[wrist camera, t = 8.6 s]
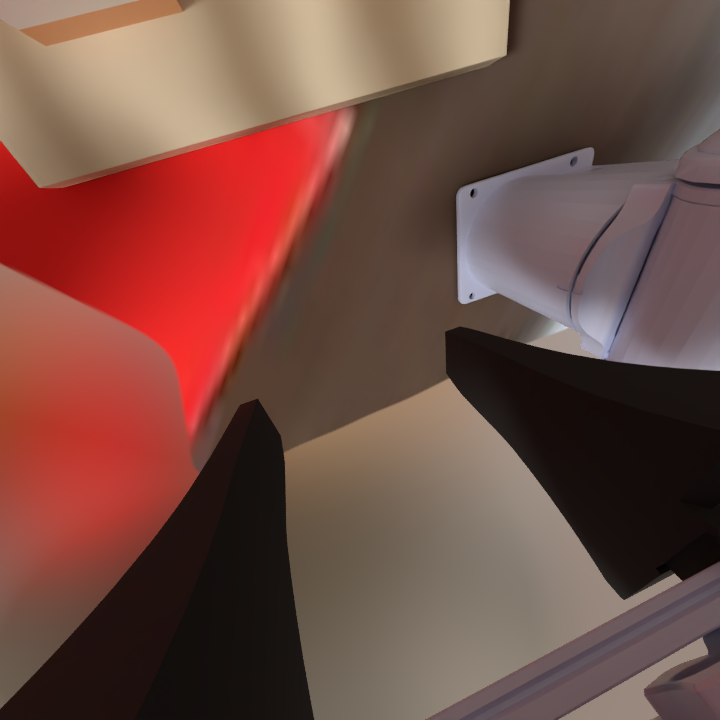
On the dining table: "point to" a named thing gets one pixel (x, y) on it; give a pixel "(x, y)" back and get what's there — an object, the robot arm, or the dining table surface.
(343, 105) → the pin board
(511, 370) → the robot arm
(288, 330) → the dining table surface
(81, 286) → the dining table surface
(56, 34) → the seated sleeve
